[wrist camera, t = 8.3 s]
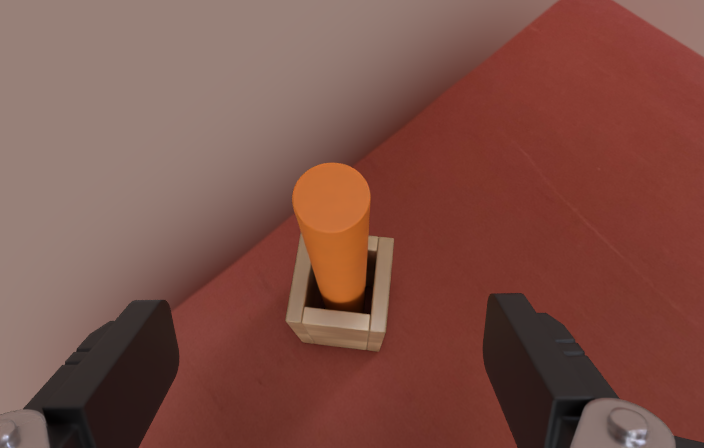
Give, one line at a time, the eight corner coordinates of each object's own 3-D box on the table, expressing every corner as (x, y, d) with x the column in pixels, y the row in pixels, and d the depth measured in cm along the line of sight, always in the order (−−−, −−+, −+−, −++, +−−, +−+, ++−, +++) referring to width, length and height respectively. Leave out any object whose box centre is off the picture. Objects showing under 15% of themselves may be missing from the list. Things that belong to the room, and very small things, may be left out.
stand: (302, 342, 27) (284, 321, 21) (313, 268, 29) (301, 228, 23) (379, 351, 27) (386, 333, 21) (386, 276, 29) (394, 237, 23)
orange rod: (323, 325, 28) (285, 228, 13) (329, 288, 29) (298, 158, 14) (362, 329, 28) (366, 236, 13) (366, 292, 29) (374, 165, 14)
